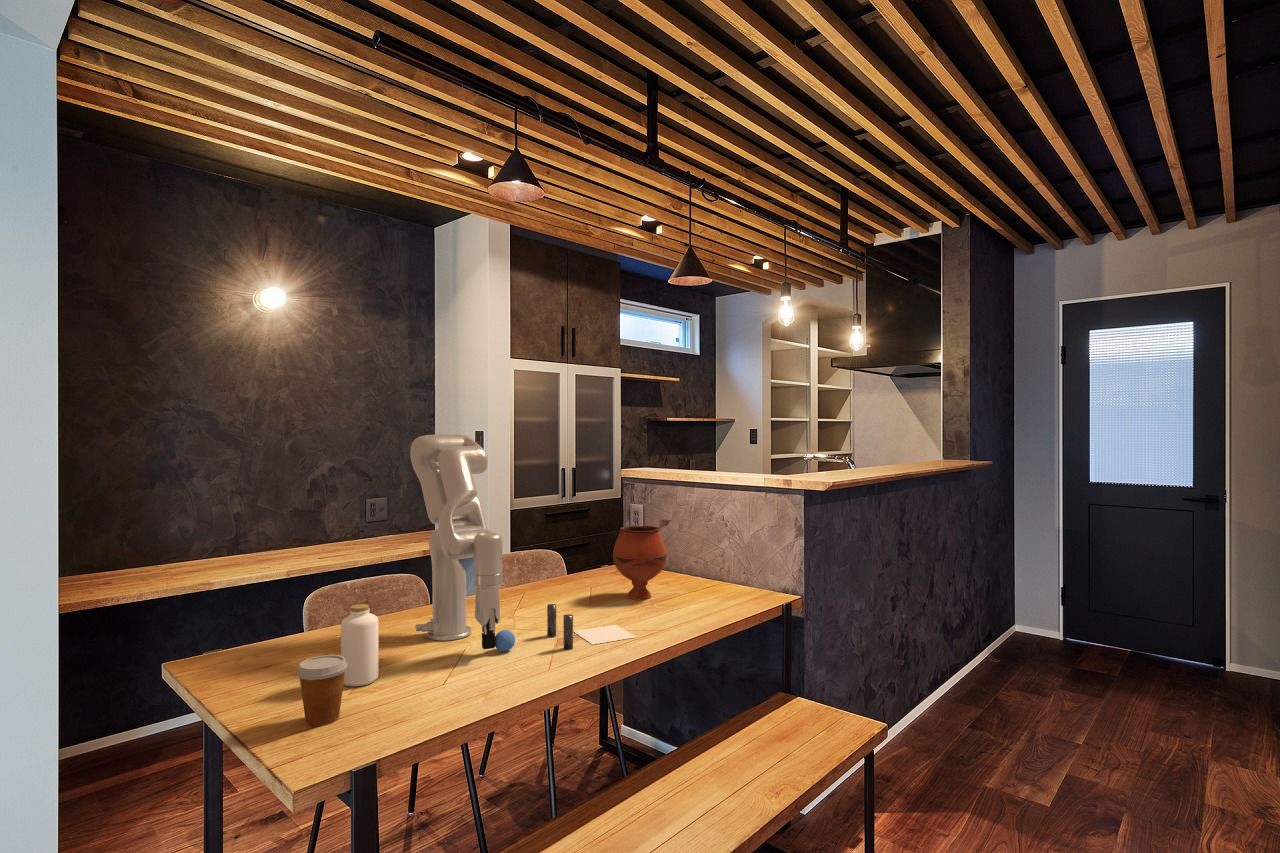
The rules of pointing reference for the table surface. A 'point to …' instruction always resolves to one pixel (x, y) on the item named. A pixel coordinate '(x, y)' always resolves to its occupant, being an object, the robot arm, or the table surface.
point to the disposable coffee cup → (322, 688)
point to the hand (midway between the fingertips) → (488, 647)
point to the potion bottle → (360, 646)
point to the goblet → (639, 557)
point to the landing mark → (604, 634)
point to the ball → (504, 640)
